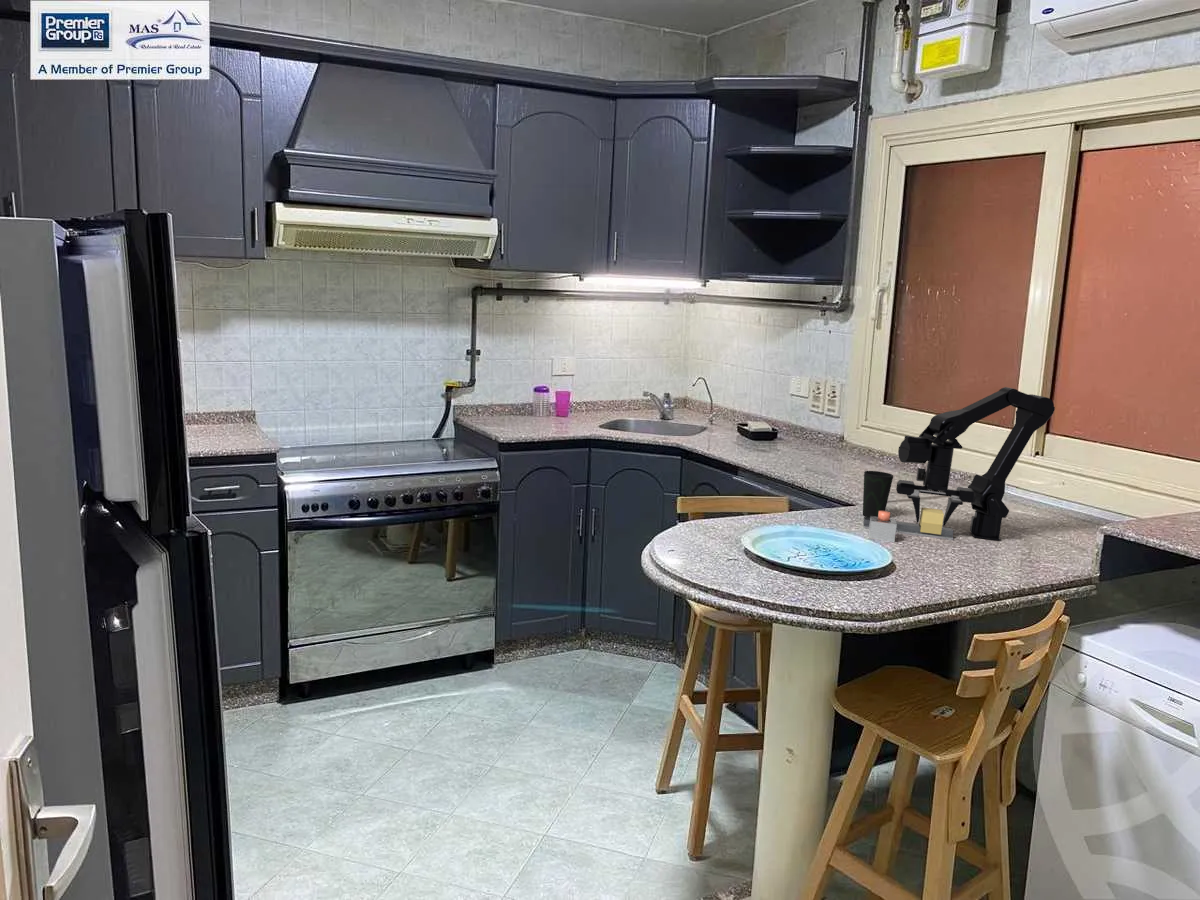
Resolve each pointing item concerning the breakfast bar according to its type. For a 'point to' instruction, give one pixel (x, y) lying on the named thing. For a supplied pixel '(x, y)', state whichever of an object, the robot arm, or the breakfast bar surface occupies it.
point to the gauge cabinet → (882, 529)
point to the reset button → (884, 515)
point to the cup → (876, 492)
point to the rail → (915, 529)
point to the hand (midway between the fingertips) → (930, 523)
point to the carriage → (931, 520)
